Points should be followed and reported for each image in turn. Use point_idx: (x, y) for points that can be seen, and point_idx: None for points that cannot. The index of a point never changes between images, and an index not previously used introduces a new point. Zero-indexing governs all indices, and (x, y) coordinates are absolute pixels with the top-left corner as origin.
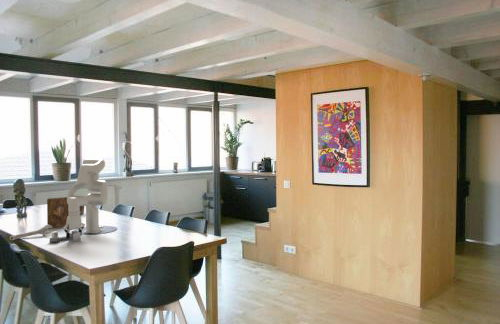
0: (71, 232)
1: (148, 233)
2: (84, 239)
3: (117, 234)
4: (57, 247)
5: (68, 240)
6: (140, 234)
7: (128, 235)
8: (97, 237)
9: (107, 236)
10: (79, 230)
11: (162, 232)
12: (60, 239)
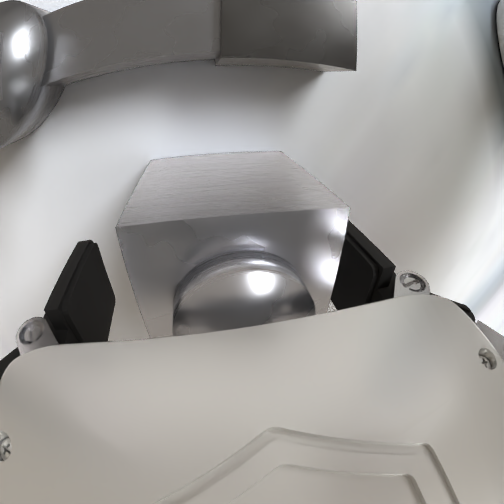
0: (193, 256)
1: (495, 323)
2: (352, 219)
3: (500, 259)
4: (6, 319)
5: (148, 164)
6: (486, 322)
7: (478, 313)
8: (443, 240)
9: (468, 265)
10: (373, 301)
11: (498, 332)
12: (55, 84)
